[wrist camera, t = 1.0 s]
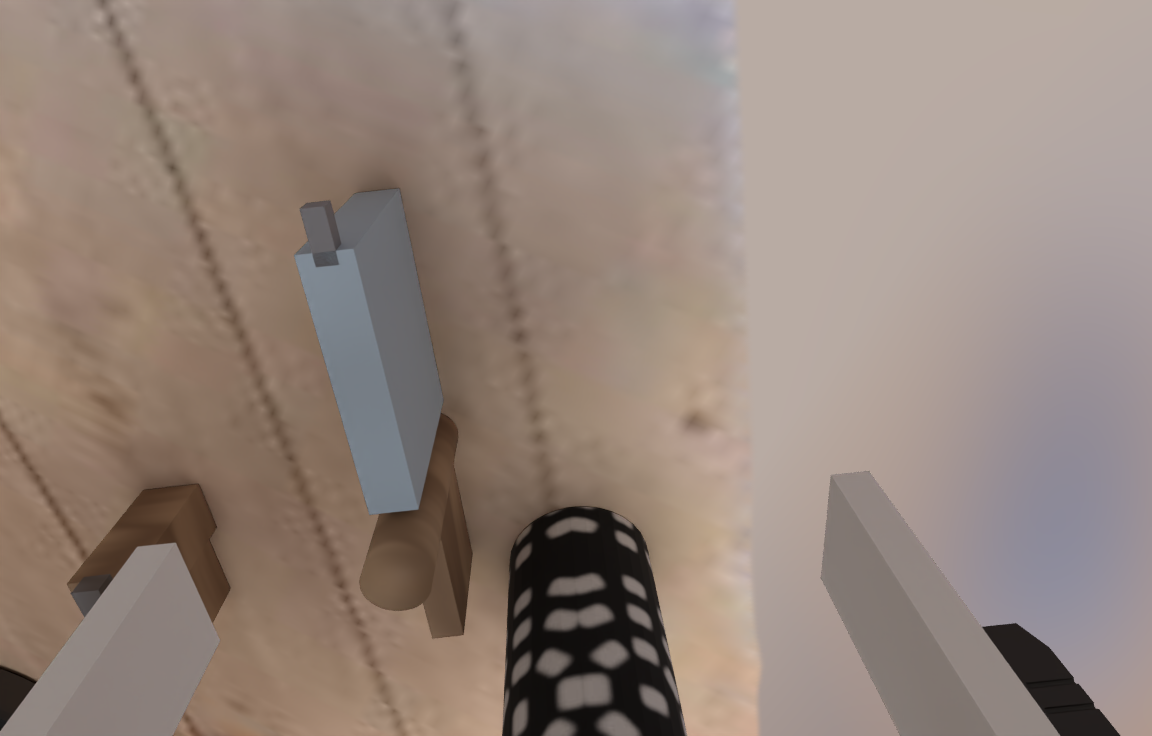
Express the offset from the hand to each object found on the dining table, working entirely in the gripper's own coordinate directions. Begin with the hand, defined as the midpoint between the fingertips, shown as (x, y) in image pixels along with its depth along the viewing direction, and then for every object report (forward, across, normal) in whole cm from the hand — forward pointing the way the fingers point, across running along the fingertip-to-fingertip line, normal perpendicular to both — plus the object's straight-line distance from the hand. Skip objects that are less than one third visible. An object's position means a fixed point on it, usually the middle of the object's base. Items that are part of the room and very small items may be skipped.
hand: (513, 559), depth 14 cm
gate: (+21, -6, -1) cm, 22 cm away
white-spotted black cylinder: (+21, +1, -20) cm, 29 cm away
